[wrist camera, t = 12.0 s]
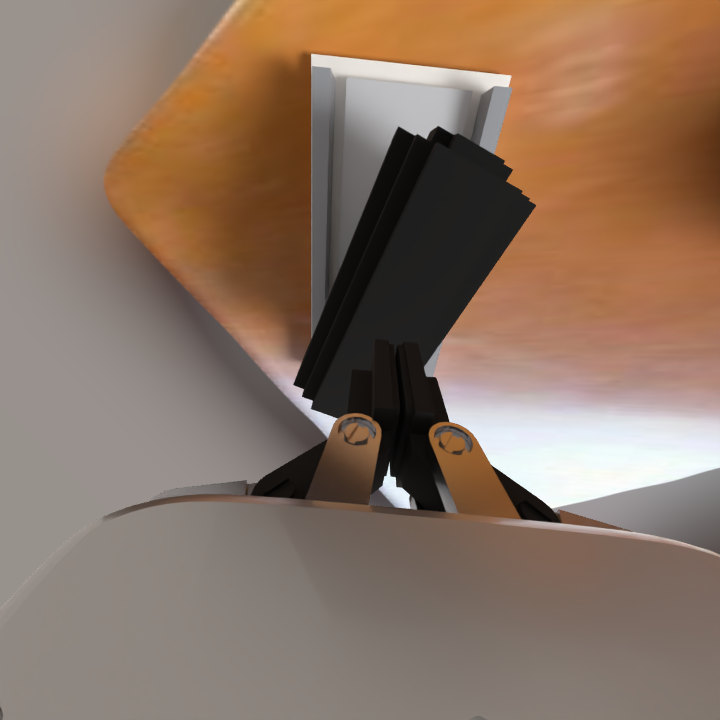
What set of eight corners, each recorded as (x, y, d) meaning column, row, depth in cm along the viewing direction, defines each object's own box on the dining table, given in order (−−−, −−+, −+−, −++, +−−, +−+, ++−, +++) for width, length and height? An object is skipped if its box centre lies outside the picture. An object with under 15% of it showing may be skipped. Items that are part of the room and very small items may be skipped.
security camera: (304, 353, 28) (274, 432, 20) (395, 128, 19) (411, 94, 10) (371, 379, 29) (368, 463, 21) (487, 180, 20) (568, 188, 12)
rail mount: (313, 57, 18) (302, 38, 16) (506, 79, 18) (528, 63, 16) (312, 373, 31) (306, 392, 29) (425, 384, 31) (430, 404, 29)
